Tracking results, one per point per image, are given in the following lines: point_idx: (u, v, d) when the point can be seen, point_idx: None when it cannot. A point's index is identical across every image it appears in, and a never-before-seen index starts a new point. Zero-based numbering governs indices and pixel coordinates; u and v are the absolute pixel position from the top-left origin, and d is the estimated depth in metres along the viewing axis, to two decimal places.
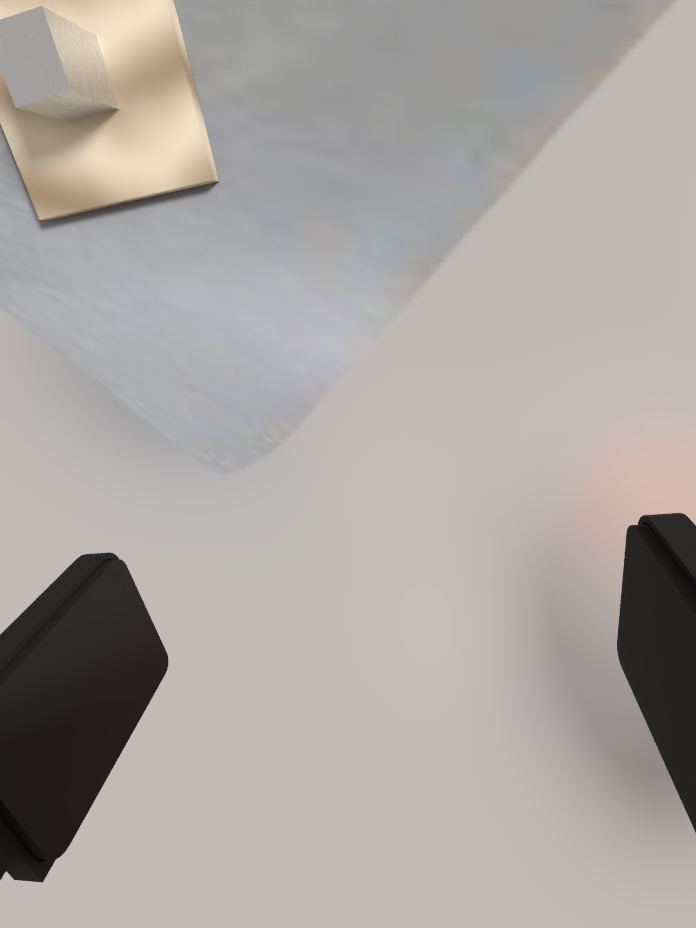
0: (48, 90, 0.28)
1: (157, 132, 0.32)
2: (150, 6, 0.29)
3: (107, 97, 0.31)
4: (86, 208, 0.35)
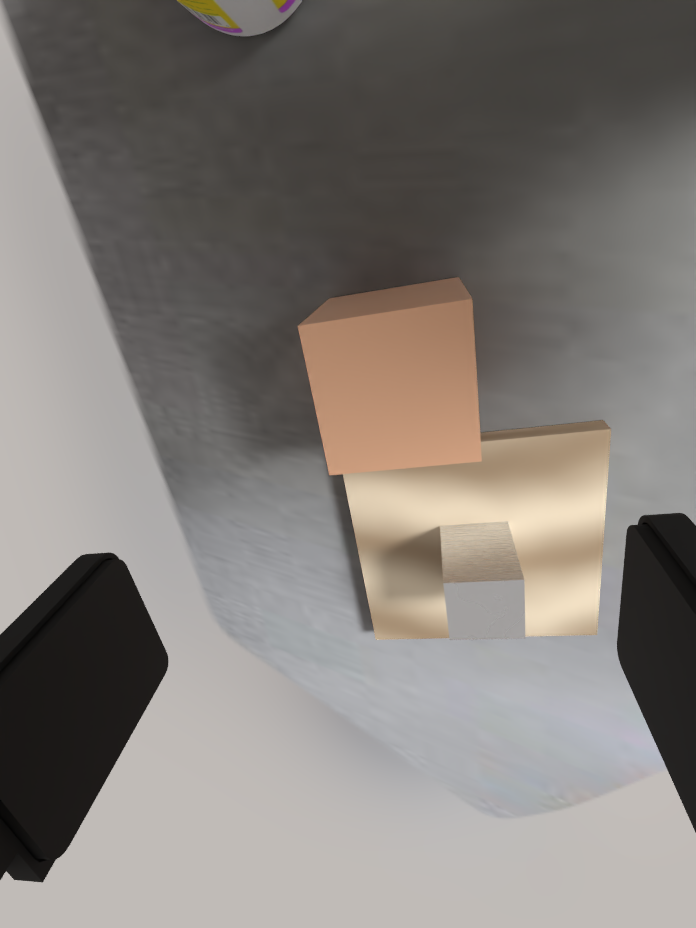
0: (497, 634, 0.25)
1: (547, 595, 0.29)
2: (584, 507, 0.26)
3: None
4: (435, 637, 0.32)
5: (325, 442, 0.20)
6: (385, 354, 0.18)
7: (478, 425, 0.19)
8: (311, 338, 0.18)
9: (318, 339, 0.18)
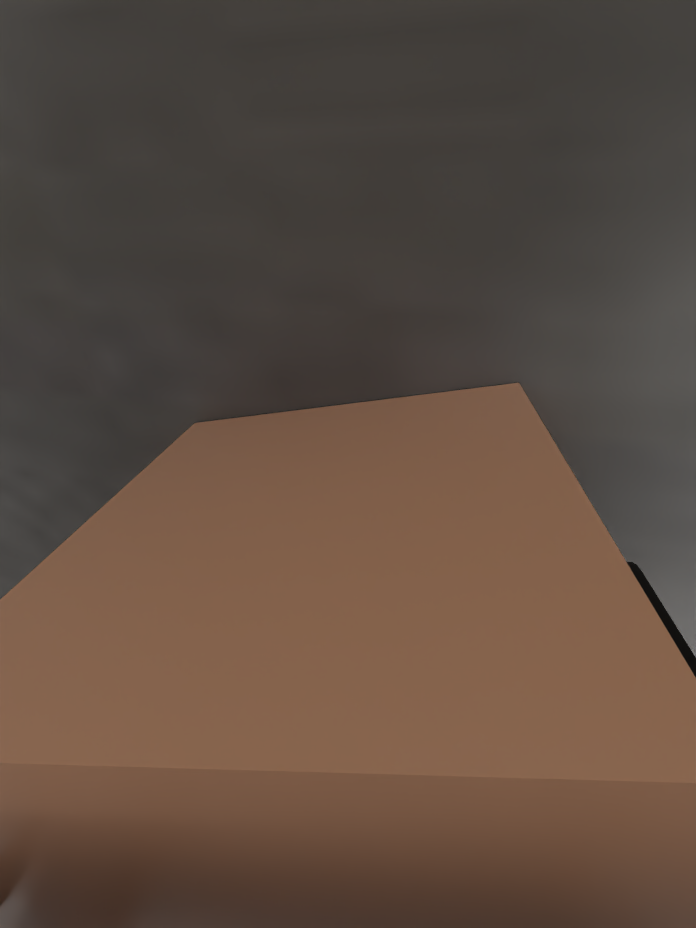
0: None
1: None
2: None
3: None
4: None
5: None
6: (249, 886, 0.04)
7: None
8: None
9: None
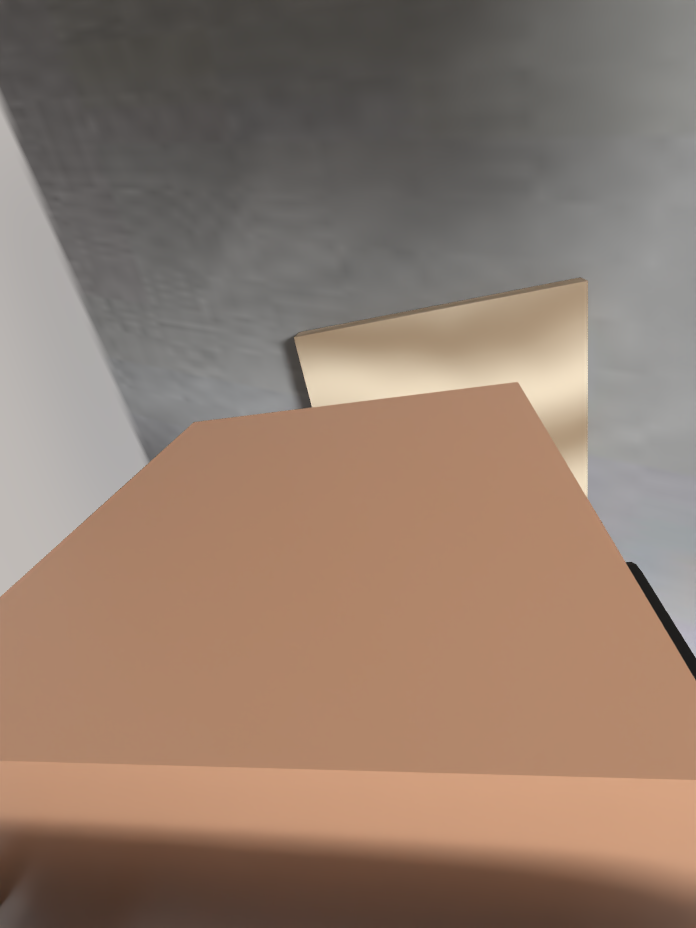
0: None
1: None
2: (563, 380, 0.24)
3: None
4: None
5: None
6: (248, 885, 0.04)
7: None
8: None
9: None
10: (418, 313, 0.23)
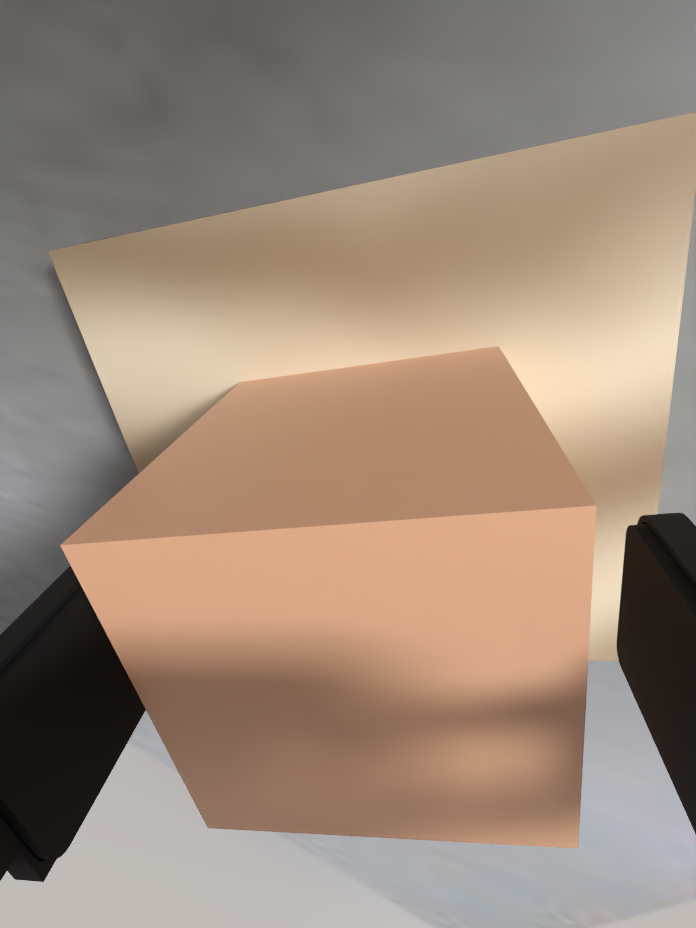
0: None
1: None
2: (623, 360, 0.11)
3: None
4: None
5: (187, 777, 0.08)
6: (317, 625, 0.06)
7: (577, 786, 0.07)
8: (106, 575, 0.06)
9: (125, 579, 0.06)
10: (305, 197, 0.10)
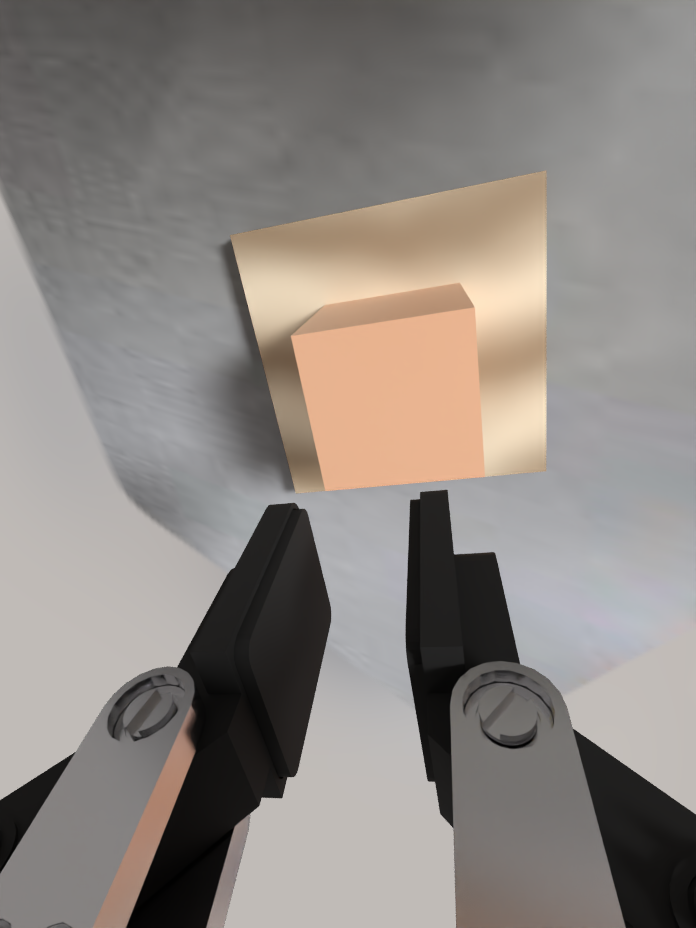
0: None
1: (485, 419, 0.25)
2: (521, 289, 0.22)
3: None
4: None
5: (321, 457, 0.19)
6: (383, 365, 0.17)
7: (481, 439, 0.18)
8: (306, 348, 0.17)
9: (312, 350, 0.17)
10: (364, 208, 0.21)
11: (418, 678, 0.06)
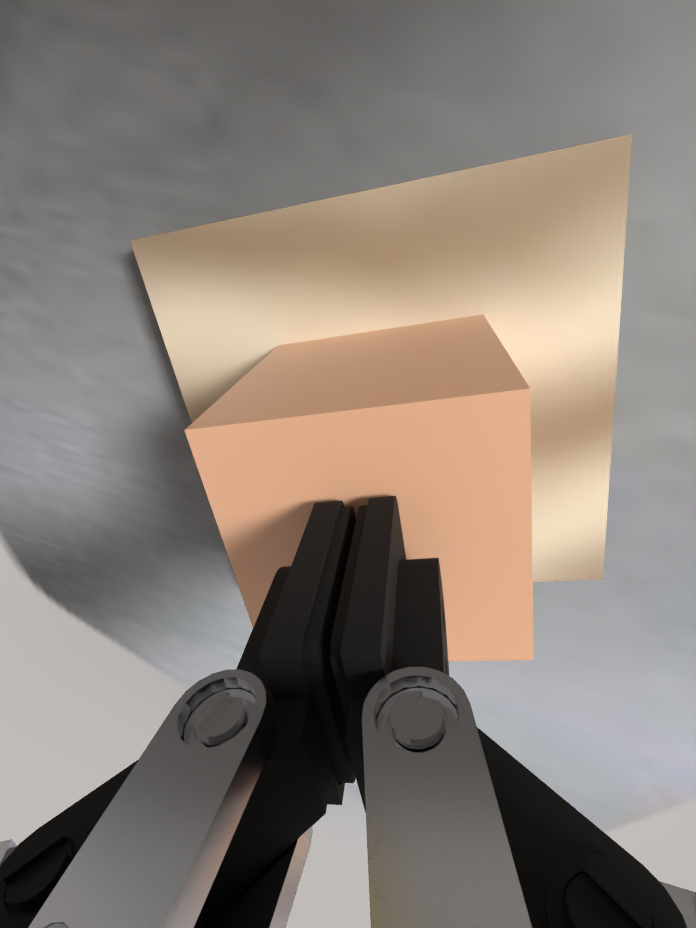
0: None
1: None
2: (579, 325, 0.14)
3: None
4: None
5: (254, 617, 0.11)
6: (354, 483, 0.09)
7: (530, 605, 0.10)
8: (213, 451, 0.10)
9: (226, 454, 0.10)
10: (334, 198, 0.14)
11: (343, 682, 0.06)
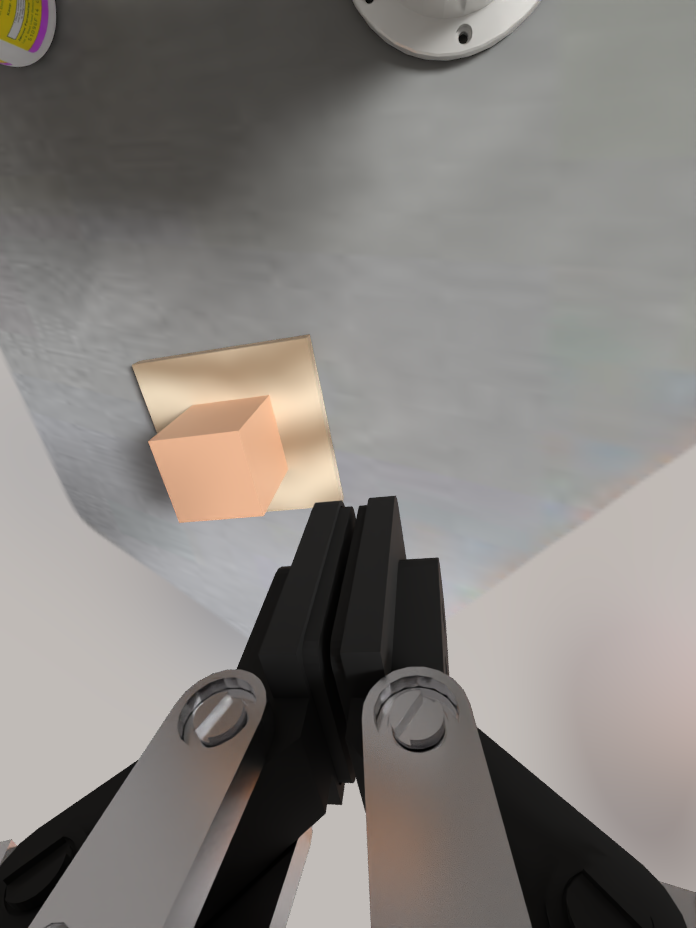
0: None
1: (299, 473, 0.39)
2: (305, 399, 0.37)
3: None
4: None
5: (173, 504, 0.34)
6: (198, 457, 0.32)
7: (257, 496, 0.33)
8: (156, 447, 0.32)
9: (160, 448, 0.32)
10: (208, 353, 0.36)
11: (343, 682, 0.06)
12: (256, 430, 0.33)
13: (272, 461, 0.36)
